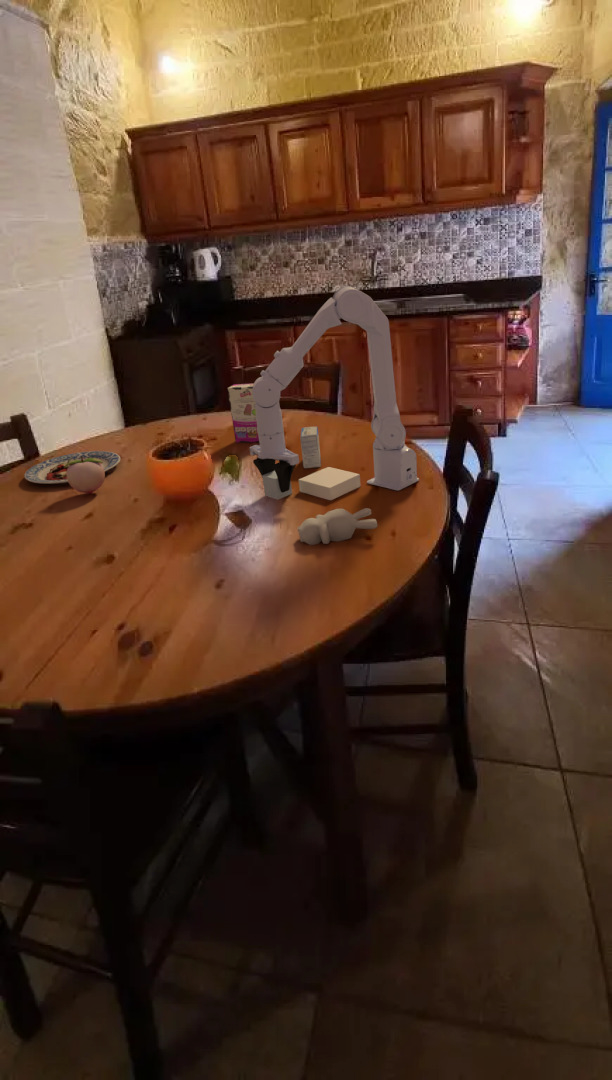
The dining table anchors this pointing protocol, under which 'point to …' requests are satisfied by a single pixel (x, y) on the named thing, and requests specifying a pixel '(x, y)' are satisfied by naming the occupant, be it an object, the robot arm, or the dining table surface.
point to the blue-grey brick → (274, 486)
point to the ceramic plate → (55, 468)
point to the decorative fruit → (85, 474)
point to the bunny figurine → (334, 526)
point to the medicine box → (310, 447)
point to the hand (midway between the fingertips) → (277, 488)
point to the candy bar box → (243, 413)
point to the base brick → (329, 483)
